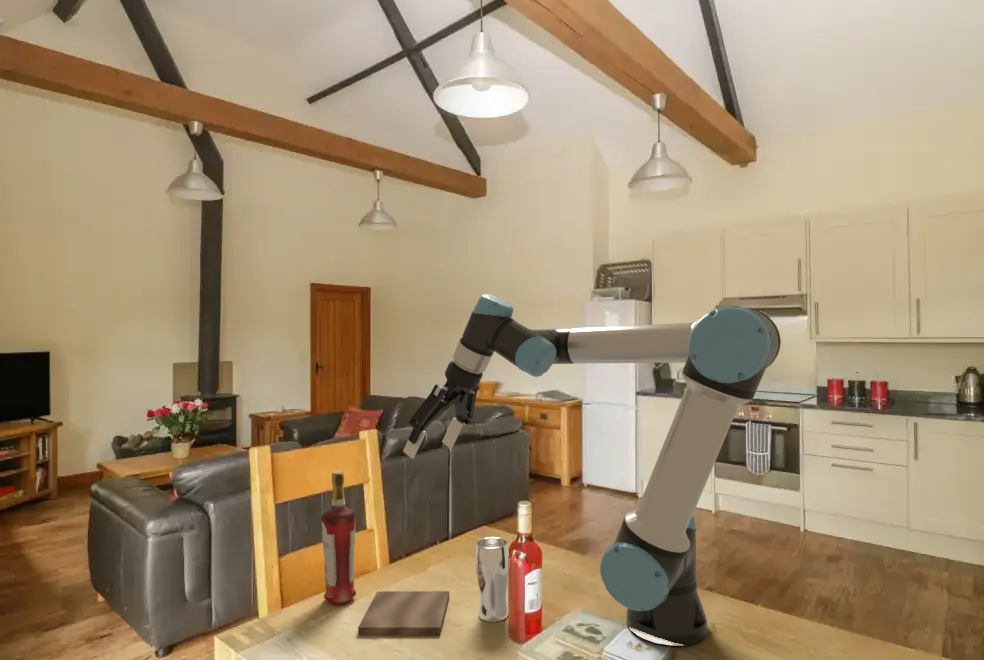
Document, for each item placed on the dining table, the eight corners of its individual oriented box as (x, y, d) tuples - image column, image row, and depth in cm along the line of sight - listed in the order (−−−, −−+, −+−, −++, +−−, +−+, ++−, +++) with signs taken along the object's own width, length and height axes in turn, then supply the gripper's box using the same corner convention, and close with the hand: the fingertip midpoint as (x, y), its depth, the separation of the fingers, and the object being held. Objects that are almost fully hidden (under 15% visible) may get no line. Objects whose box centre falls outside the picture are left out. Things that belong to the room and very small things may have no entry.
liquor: (319, 597, 132) (317, 471, 132) (352, 590, 135) (350, 467, 135) (327, 611, 125) (324, 478, 125) (361, 603, 129) (358, 474, 129)
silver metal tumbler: (507, 624, 118) (505, 549, 118) (473, 622, 119) (471, 547, 119) (512, 608, 125) (511, 537, 125) (480, 606, 126) (479, 535, 126)
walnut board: (449, 598, 130) (449, 591, 130) (440, 635, 114) (440, 627, 114) (377, 598, 131) (377, 591, 131) (358, 635, 115) (358, 627, 115)
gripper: (486, 355, 136) (449, 432, 141) (417, 357, 115) (377, 448, 120) (510, 371, 133) (472, 450, 138) (445, 377, 112) (402, 470, 117)
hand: (428, 449), depth 129 cm, fingers open, 13 cm apart
